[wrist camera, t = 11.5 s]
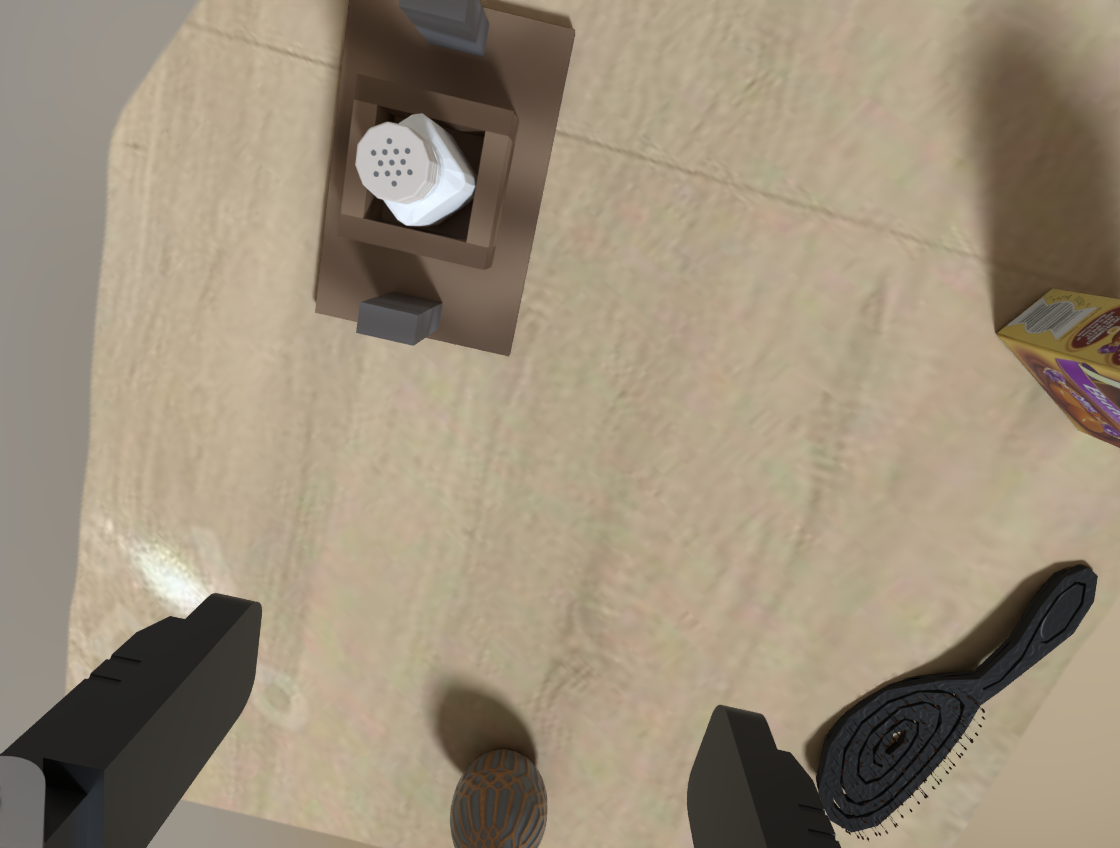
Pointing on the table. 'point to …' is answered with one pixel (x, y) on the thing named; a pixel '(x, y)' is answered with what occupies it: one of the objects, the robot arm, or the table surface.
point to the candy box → (1073, 356)
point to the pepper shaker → (416, 170)
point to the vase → (499, 803)
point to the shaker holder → (484, 138)
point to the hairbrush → (935, 712)
